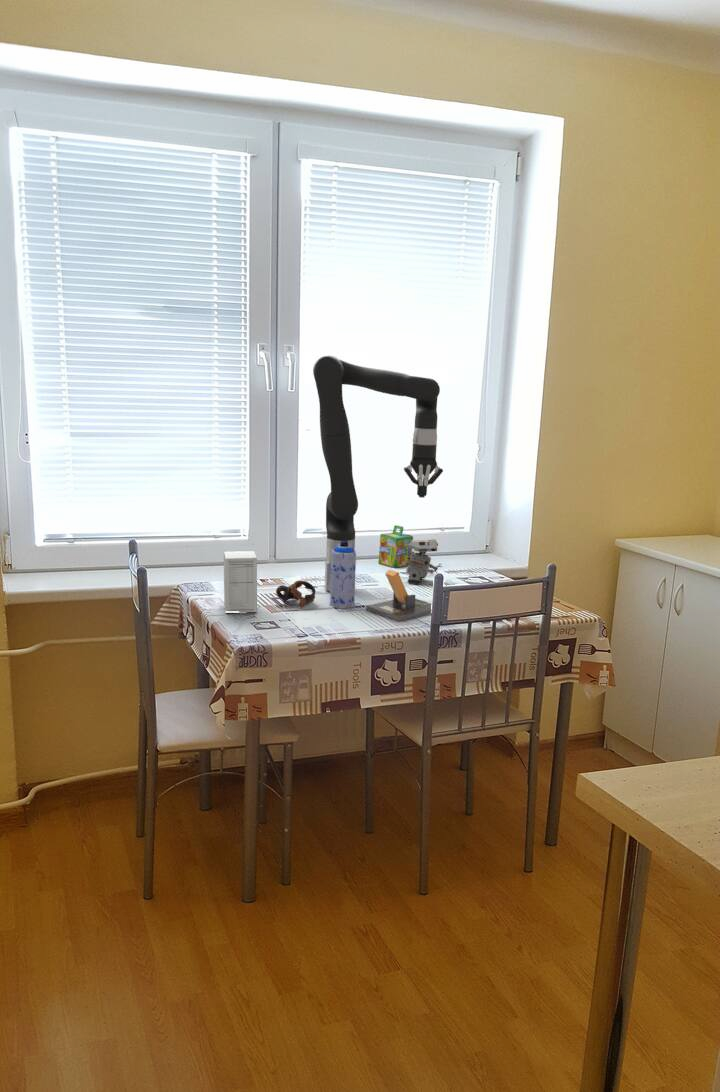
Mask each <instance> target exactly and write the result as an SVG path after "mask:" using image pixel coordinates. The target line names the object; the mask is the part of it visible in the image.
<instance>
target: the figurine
mask: <svg viewBox="0 0 720 1092" xmlns="http://www.w3.org/2000/svg"><path fill="white" fill-rule="evenodd" d="M438 546H439V544H438V542H437V539H435V538H434V539H413V540H410V541H409V542H408V547H409V548H412V553H411V554H410V555H408V558H407V563H406V565H408V566H406V567H407V568H406V572H405V573H406V574H408V579H407V583H408V584H409V583H410V584H411V583H413V584H415V585H418V584H419V585H420V584H421V583H422V582H421V579H420V578H424V579H425V578H426V577H427V576H428V574H429V573H430V574H433V573H434V572H435V573H436V574H438V570H439V568H443V567H442V565H441V563H438V565H437V566H435V565H433V564H432V563H431V560H432V557H430V556H429V555H428V554H426V553H427V552H437V551H438Z"/></svg>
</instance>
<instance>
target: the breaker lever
mask: <svg viewBox="0 0 720 1092" xmlns="http://www.w3.org/2000/svg"><path fill="white" fill-rule="evenodd" d="M384 575H385V577H386V578H387V581H388V583H389V585H390V587H391V589H392V592H393V595H394V594H395V596H396V598H397V601H398V602H399V603H402V604H405V605H406V596H408V595H409V594H408V592H407V590H406V587H405V585H404V582H403V580H402V578H401V575H400V574H399V572H398V571H396V570H393V569H388V571H386V572H385V574H384Z"/></svg>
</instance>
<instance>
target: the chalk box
mask: <svg viewBox="0 0 720 1092" xmlns="http://www.w3.org/2000/svg"><path fill="white" fill-rule="evenodd" d="M398 529H399V532H398V531H397V530H398ZM410 540H414V536H413V535H411V534H407V533H404V526H401V525H396V524H395V525H393V530H392V532H387V533H386V532H385V533H380V539H379V550H378V551H379V552H378V564H380V565H384V566H386V567H390V568H393V569H397V568H402V567H408V565H406V563H407V558H408V555H410V554H411V553H412V552H413V548H409V547H408V542H409V541H410Z"/></svg>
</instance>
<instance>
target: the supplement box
mask: <svg viewBox="0 0 720 1092" xmlns="http://www.w3.org/2000/svg"><path fill="white" fill-rule="evenodd" d="M223 596H224V597H223V598H224V599H223V600H224V603H223V606H225V607H224V612H225V611H239V612H257V613H258V558H257V555H256V552H255V551H254V550H249V551H248V550H245V551H244V550H243V551H242V550H241V551H237V550H235V551H224V552H223Z"/></svg>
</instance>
